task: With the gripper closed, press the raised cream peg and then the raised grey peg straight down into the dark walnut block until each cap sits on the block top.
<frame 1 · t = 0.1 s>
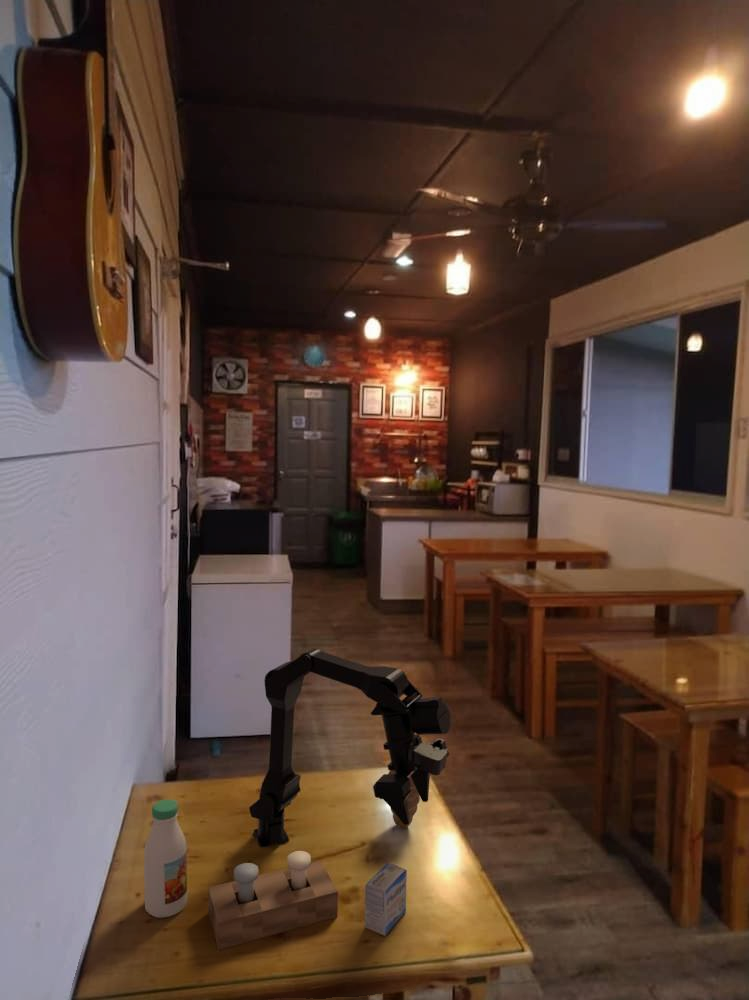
hand: (416, 812, 136), 15 cm above the table, tool pointing down, fingers open, 9 cm apart
grey peg: (246, 884, 126), point 7 cm above the table, slide at 4.0 cm
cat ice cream: (402, 827, 158), on the table
medicine box: (385, 920, 128), on the table
milk bottle: (166, 906, 131), on the table
cream peg: (298, 871, 130), point 7 cm above the table, slide at 4.0 cm
walnut block: (272, 914, 129), on the table
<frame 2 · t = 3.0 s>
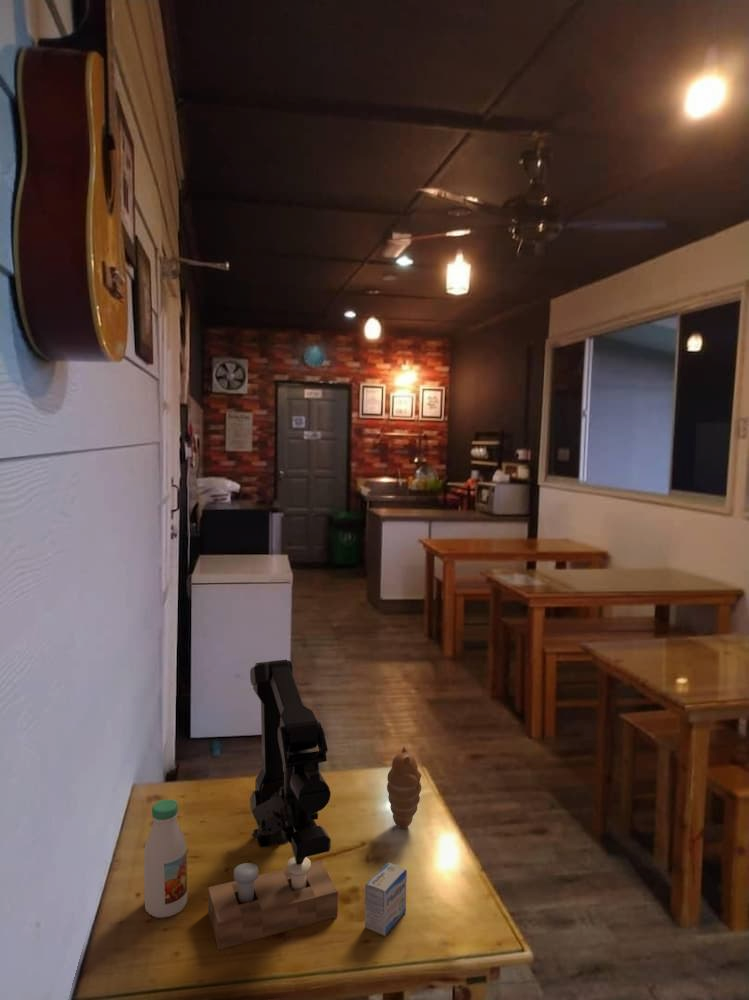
hand: (298, 863, 130), 9 cm above the table, tool pointing down, fingers closed, pressing on cream peg
cream peg: (298, 876, 130), point 6 cm above the table, slide at 2.9 cm, touching gripper
everything else where it was.
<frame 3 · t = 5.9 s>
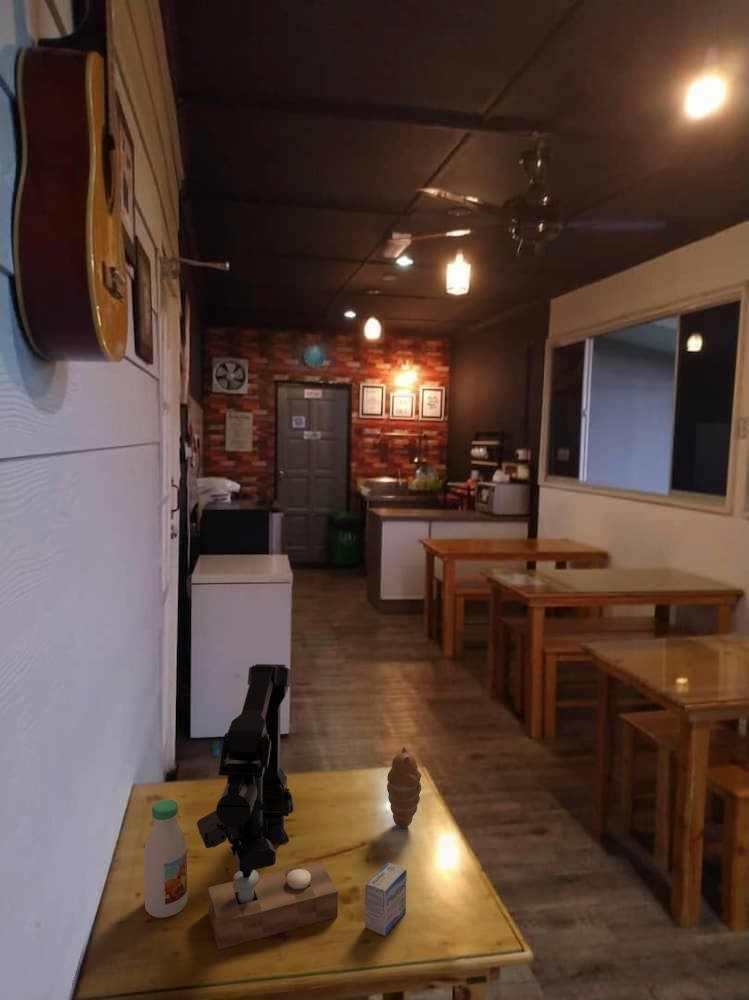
hand: (246, 876, 126), 9 cm above the table, tool pointing down, fingers closed, pressing on grey peg
grey peg: (246, 890, 126), point 6 cm above the table, slide at 2.8 cm, touching gripper
cream peg: (298, 890, 130), point 4 cm above the table, slide at 0.3 cm
everything else where it was.
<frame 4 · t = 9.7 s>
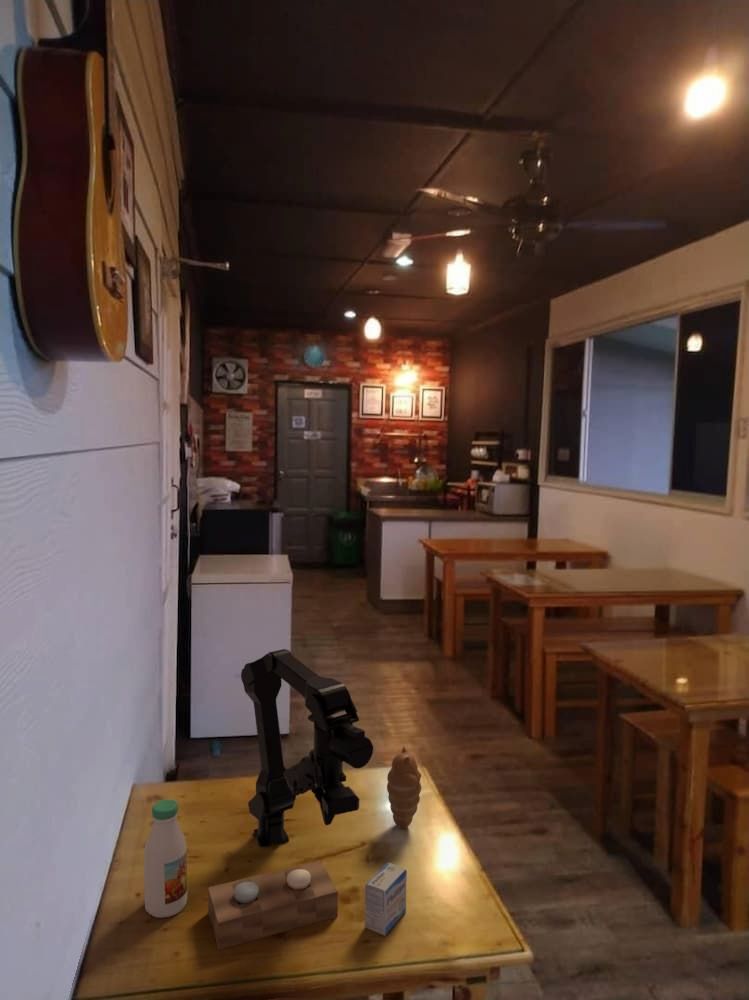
hand: (327, 823, 136), 13 cm above the table, tool pointing down, fingers closed
grey peg: (246, 903, 126), point 4 cm above the table, slide at 0.3 cm
everything else where it was.
at the end: cream peg slide at 0.3 cm; grey peg slide at 0.3 cm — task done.
